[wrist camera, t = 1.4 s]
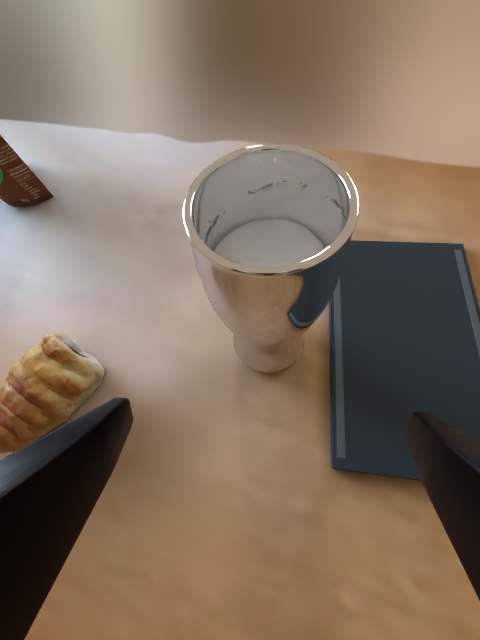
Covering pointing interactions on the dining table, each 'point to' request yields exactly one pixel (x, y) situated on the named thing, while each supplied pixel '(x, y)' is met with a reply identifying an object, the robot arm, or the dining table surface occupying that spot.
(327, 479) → the dining table surface
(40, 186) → the food container
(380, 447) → the mat
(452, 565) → the dining table surface
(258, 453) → the dining table surface
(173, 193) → the dining table surface
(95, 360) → the pastry
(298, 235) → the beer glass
